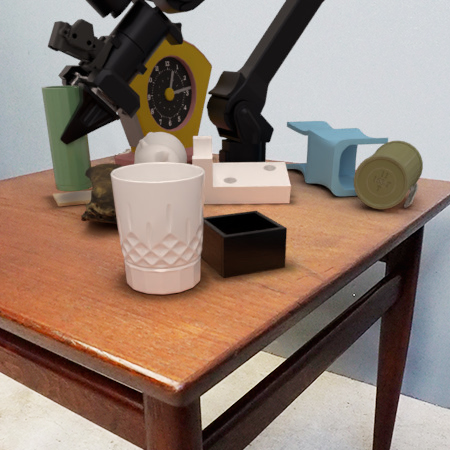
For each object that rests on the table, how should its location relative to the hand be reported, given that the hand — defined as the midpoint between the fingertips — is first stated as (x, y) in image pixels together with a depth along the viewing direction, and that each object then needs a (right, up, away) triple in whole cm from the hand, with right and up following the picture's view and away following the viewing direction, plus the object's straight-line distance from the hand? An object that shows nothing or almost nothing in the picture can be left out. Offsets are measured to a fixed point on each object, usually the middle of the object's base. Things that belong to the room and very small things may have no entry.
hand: (58, 139), depth 72 cm
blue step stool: (+41, -3, +3) cm, 41 cm away
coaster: (+1, -7, +4) cm, 8 cm away
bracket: (+24, -7, +4) cm, 26 cm away
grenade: (+42, -7, -4) cm, 43 cm away
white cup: (+17, -20, -22) cm, 34 cm away
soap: (+4, +7, +36) cm, 37 cm away
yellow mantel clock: (+11, +4, +28) cm, 30 cm away
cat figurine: (+12, -5, +10) cm, 16 cm away
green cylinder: (+1, -6, +3) cm, 7 cm away
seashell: (+9, -11, -4) cm, 15 cm away
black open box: (+24, -17, -18) cm, 34 cm away
